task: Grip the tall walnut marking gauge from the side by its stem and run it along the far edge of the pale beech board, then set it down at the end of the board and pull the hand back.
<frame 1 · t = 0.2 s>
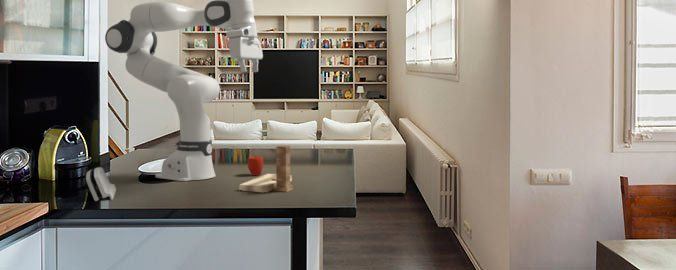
hand: (249, 72, 184), 40 cm above the counter, tool pointing down, fingers open, 8 cm apart
gauge: (283, 189, 174), on the counter
apple: (255, 175, 201), on the counter
board: (266, 185, 181), on the counter
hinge: (101, 196, 164), on the counter
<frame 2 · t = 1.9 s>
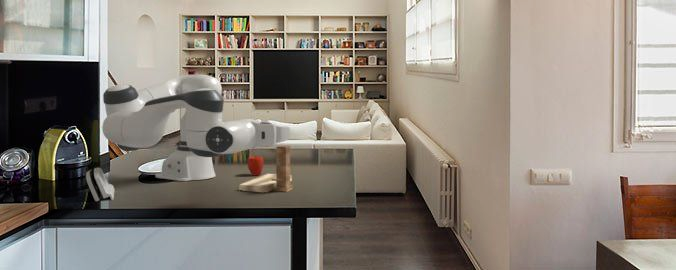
hand: (267, 129, 160), 22 cm above the counter, tool horizontal, fingers open, 8 cm apart
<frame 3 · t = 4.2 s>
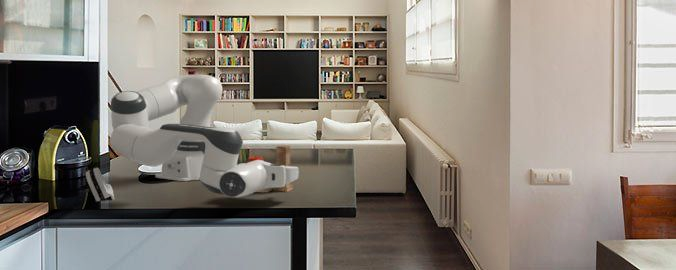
hand: (276, 168, 166), 9 cm above the counter, tool horizontal, fingers open, 8 cm apart
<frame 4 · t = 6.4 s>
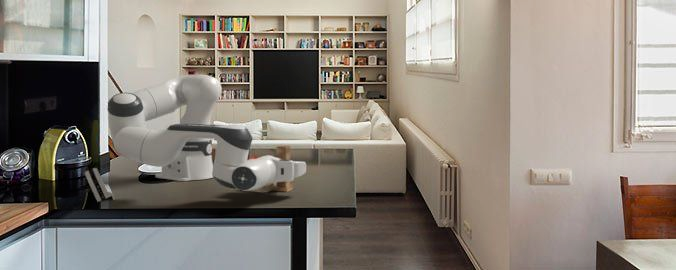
hand: (284, 163, 174), 9 cm above the counter, tool horizontal, fingers closed on gauge, 3 cm apart
gauge: (283, 189, 174), on the counter, touching gripper
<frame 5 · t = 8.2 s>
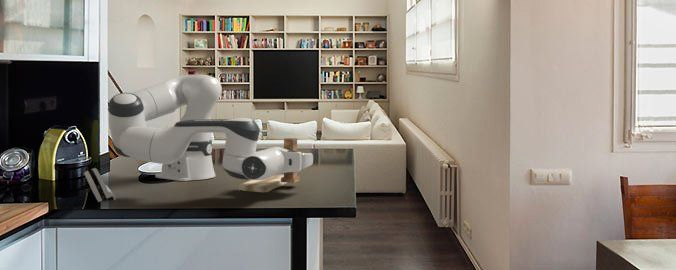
hand: (291, 155, 178), 11 cm above the counter, tool horizontal, fingers closed on gauge, 3 cm apart
gauge: (290, 181, 178), point 2 cm above the counter, touching gripper
when the fingers open (10 cm above the counter, at t = 10.4 s): gauge stays where it is, on the counter.
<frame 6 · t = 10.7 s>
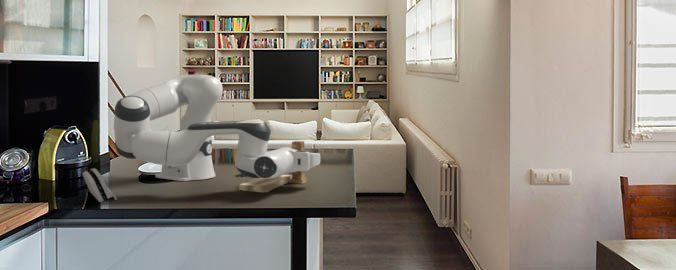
hand: (299, 155, 187), 10 cm above the counter, tool horizontal, fingers open, 6 cm apart
gauge: (298, 182, 187), on the counter
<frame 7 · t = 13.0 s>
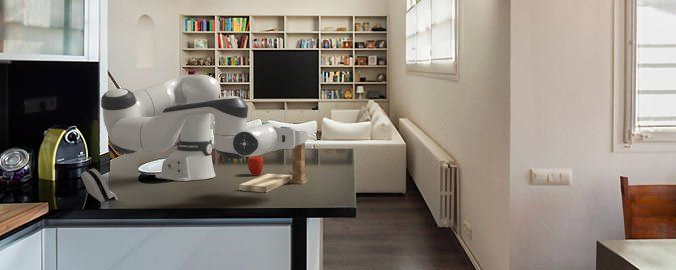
hand: (285, 132, 174), 19 cm above the counter, tool horizontal, fingers open, 8 cm apart
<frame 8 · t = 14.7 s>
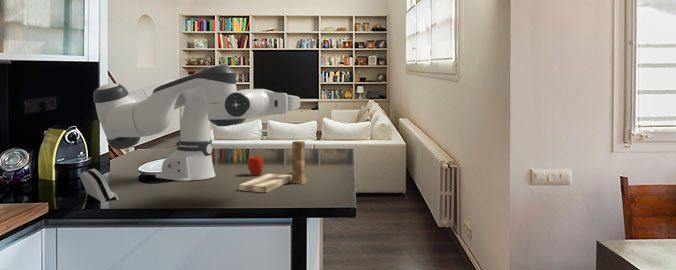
hand: (278, 101, 173), 30 cm above the counter, tool horizontal, fingers open, 8 cm apart
at the end: gauge inside the target area (0.0 cm from its centre), on the counter; gauge tilted 0°; the gripper is holding nothing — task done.
